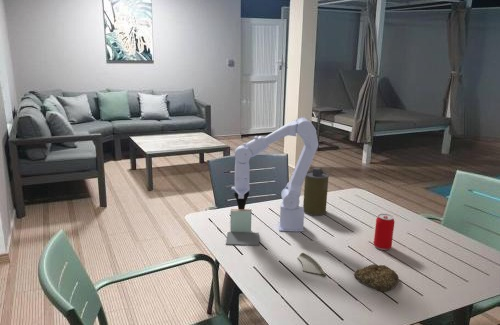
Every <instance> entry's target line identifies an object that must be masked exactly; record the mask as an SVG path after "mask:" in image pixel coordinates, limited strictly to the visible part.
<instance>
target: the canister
mask: <svg viewBox="0 0 500 325" xmlns="http://www.w3.org/2000/svg"><path fill="white" fill-rule="evenodd" d="M329 177H330V174H329V173H328V172H326V171H323V168H322V167H317V166H314V167H313V168H312V170H308V172H307V175H306V177H305V179H304V186H303V187H304V188H303V204H302V207H303V208H304V214H305V215H309V216H313V217H315V216H316V217H317V216H318V217H319V216H324V215H325V214H327V200H328V199H327V198H328V188H329V187H328V186H329Z"/></svg>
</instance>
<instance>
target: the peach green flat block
mask: <svg viewBox="0 0 500 325" xmlns="http://www.w3.org/2000/svg"><path fill="white" fill-rule="evenodd" d="M252 211H253V210H252V209H250V208H249V209H246V208H245V209H238V208H231V209H230V226H229V227H230V230H229V232H252Z"/></svg>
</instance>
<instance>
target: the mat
mask: <svg viewBox="0 0 500 325" xmlns="http://www.w3.org/2000/svg"><path fill="white" fill-rule="evenodd" d="M225 245H226V246H260V232H252V231H251V232H230V231H227V236H226V242H225Z"/></svg>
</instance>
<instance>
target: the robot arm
mask: <svg viewBox="0 0 500 325" xmlns="http://www.w3.org/2000/svg"><path fill="white" fill-rule="evenodd" d="M297 134H298V136H299V137H300V138H301V140H302V142H303V147H302V149H301V152H300V155H299V158H298V160H297V162H296V165H295V167H294V170H293V172H292V175H291V177H290V180H289V181H288V182H287V184H286V186H285V187H283V189H282V190H281V192H280V198H281V199H282V202H281V203H280V205H279V206H280V207H279V208H280V209H279V210H280V212H279V221H278V222H277V225H278V231H279V232H304V223H305V222H304V221H305V219H304V218H305V213H304V208H303V206H299V205H300V196H301V193H302V186H303V184H304V183H305V177H306V175H307V172H308V171H310V170H309V169H310V167H311V164H312V162H313V160H314V157H315V155H316V153H317V150H318V148H319V140H318V135H317V129H316V128H315V126H314V124H313V123H312V122H311V121H310V120H309V118H307V117H304V116H301V117H298V118H297V119H294V120H291V121H289V122H288V123H286V124H284V125H283V126H281V127H279V128H277V129H276V130H275V131H273V132H271V133H269V134H267V135H266V136H263V135H259V136H258V135H255V136H254V137H253V138H254V139H251V140H250V141H248V142H243V143H242V145H239V146H237V147H236V148H235V150H234V159H235V161H234V164H235V165H234V186H231V190H232V191H234V194H233V196H234V198H235V200H236V203H237V209H246V208H245V207H246V204H247V200H248V198H249V196H250V190H251V189H250V188H251V187H250V169H251V168H250V160H251V158H253V157H255V156H257V155H259V154H261V153H263V152H265V151H266V150H268V149H269V145H271V144H273V143H275V142H278V141H279V140H281V139H284V138H286V137H288V136H291V137H297Z"/></svg>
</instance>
